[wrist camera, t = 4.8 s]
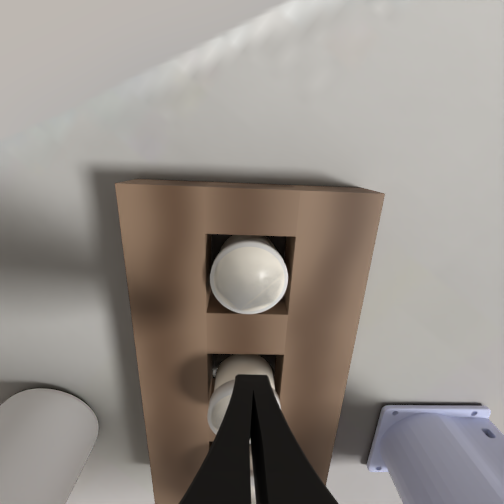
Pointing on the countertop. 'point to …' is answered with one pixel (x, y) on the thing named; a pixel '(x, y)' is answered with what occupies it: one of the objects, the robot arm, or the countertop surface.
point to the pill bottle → (43, 445)
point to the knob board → (236, 324)
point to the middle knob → (226, 383)
